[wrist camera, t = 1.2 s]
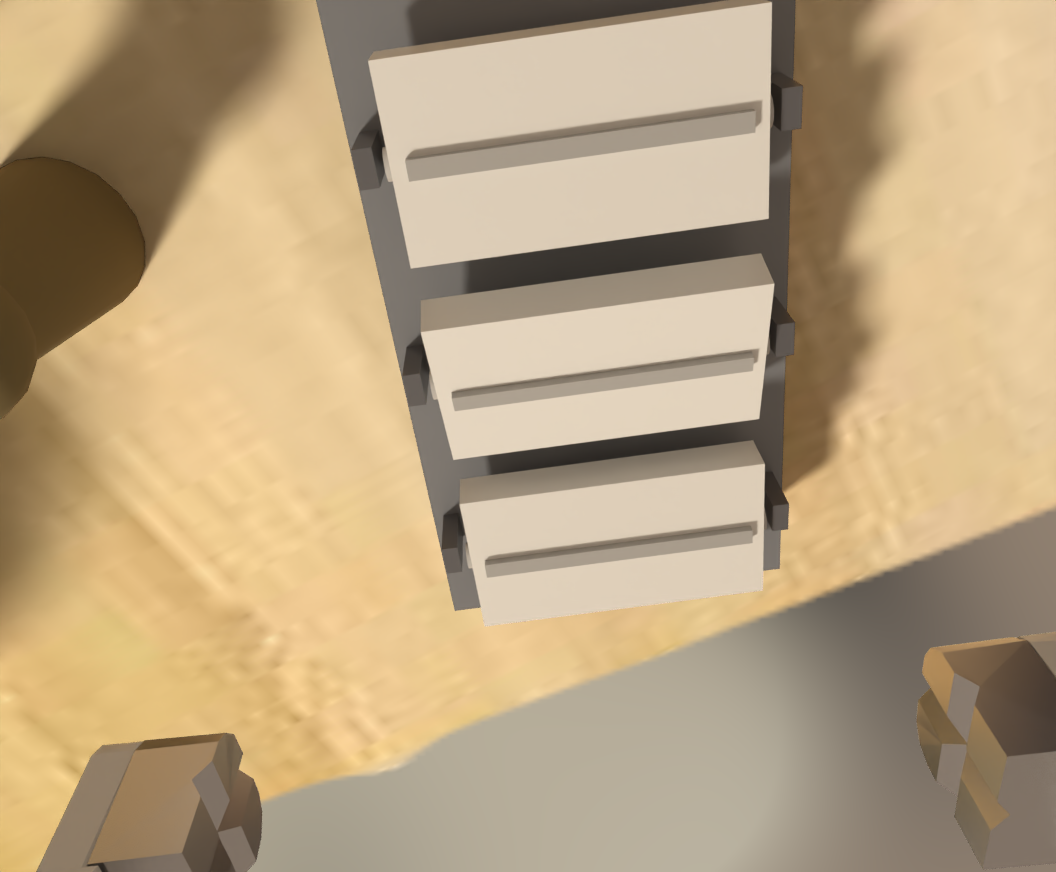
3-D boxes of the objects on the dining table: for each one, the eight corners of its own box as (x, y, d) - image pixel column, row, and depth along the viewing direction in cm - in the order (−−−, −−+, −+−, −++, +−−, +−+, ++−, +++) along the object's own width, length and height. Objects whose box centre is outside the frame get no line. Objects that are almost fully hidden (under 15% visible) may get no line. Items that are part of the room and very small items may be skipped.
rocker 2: (414, 301, 29) (414, 339, 28) (767, 252, 29) (783, 288, 27) (446, 428, 33) (448, 466, 32) (753, 387, 33) (766, 424, 32)
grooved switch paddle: (454, 479, 34) (453, 510, 32) (758, 439, 33) (772, 467, 32) (479, 599, 37) (479, 632, 35) (757, 563, 36) (770, 595, 35)
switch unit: (333, -16, 29) (303, 6, 24) (768, -80, 29) (834, -73, 24) (456, 552, 42) (453, 647, 37) (761, 512, 42) (802, 602, 36)
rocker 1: (366, 52, 26) (359, 63, 24) (763, -5, 25) (782, 1, 24) (407, 251, 29) (403, 273, 27) (760, 202, 29) (778, 220, 27)
